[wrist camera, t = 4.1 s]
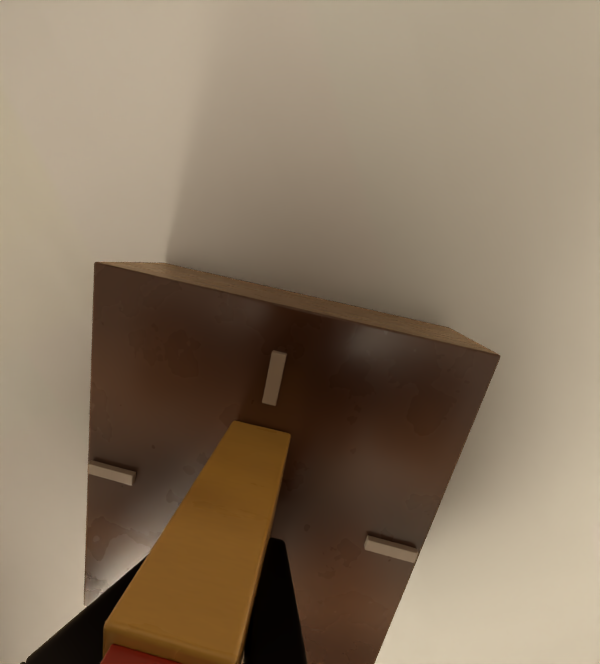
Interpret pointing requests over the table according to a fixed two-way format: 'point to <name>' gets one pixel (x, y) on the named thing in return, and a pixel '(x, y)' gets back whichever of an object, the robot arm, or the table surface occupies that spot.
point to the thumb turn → (205, 561)
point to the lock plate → (283, 415)
